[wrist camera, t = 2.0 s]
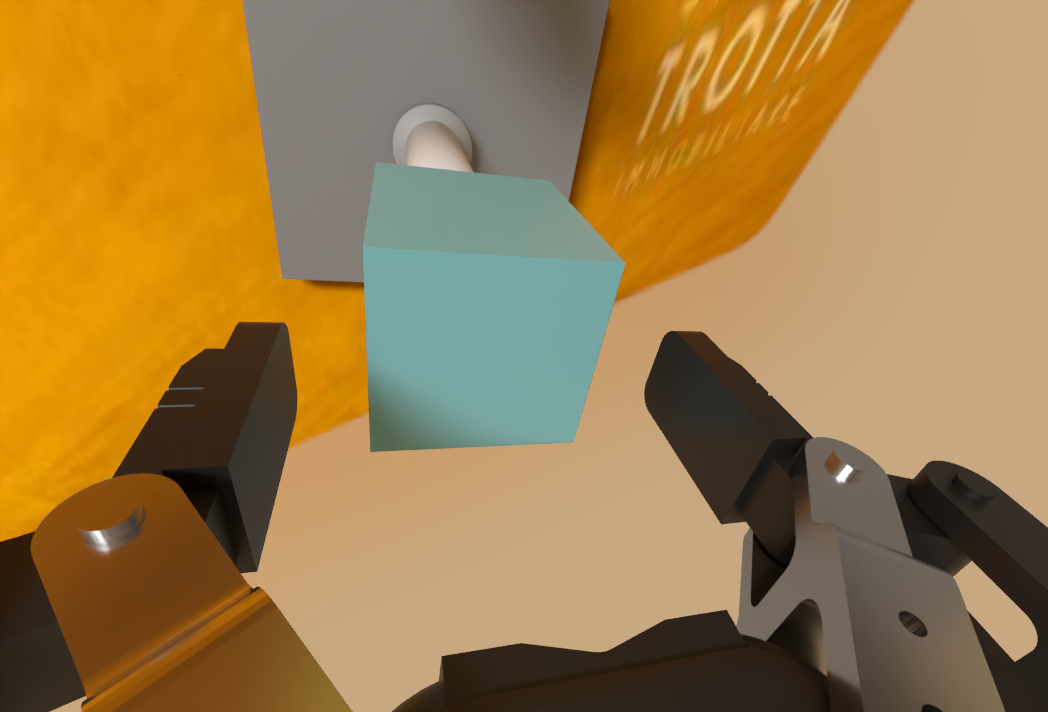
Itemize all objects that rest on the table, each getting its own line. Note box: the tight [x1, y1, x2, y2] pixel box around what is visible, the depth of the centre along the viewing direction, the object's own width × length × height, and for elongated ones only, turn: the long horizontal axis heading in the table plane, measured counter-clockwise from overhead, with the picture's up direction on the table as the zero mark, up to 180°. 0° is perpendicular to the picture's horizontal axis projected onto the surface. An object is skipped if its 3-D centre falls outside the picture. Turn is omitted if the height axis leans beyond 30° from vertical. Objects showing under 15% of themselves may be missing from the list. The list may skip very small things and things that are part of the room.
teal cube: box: [363, 162, 625, 452], centre depth 13 cm, size 5×5×6 cm
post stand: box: [243, 0, 610, 282], centre depth 22 cm, size 18×18×18 cm
